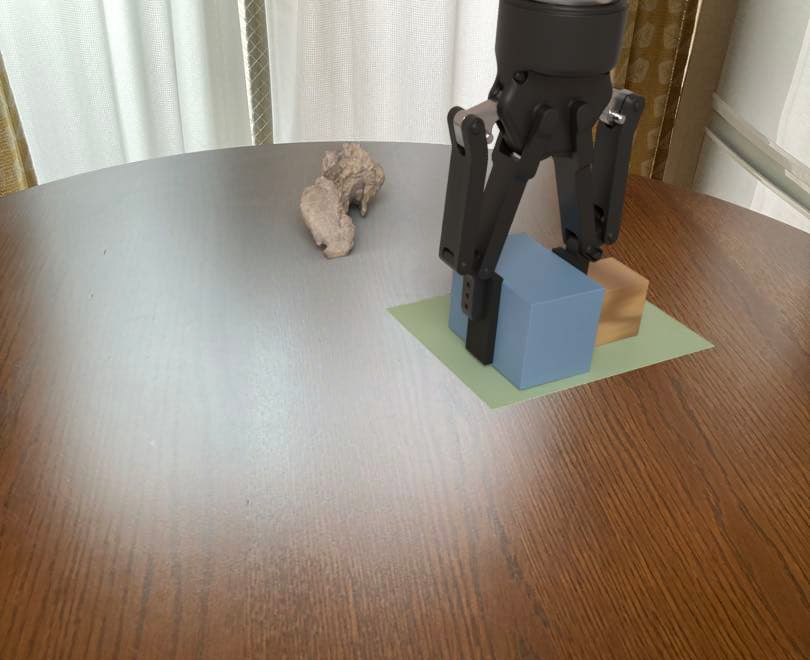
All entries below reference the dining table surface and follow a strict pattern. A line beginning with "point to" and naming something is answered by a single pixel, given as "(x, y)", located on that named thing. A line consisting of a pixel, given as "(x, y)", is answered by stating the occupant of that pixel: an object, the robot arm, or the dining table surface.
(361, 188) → the rock
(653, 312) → the tray
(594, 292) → the sponge
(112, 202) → the dining table surface
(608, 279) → the cork block
